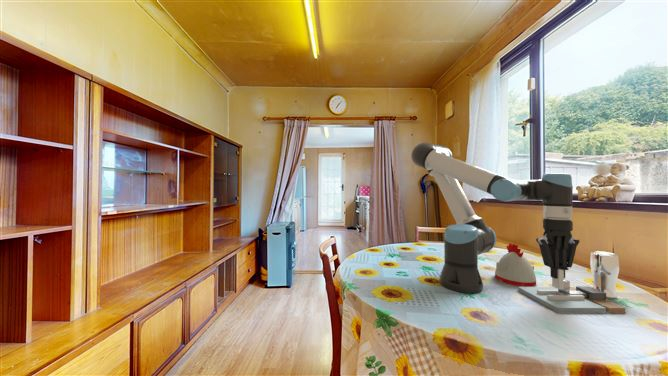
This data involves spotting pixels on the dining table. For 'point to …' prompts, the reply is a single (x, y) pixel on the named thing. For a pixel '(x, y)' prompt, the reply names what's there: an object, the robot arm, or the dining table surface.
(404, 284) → the dining table surface
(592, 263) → the beer glass
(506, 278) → the kitchen timer
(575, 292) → the steel bolt
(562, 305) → the door lock board
